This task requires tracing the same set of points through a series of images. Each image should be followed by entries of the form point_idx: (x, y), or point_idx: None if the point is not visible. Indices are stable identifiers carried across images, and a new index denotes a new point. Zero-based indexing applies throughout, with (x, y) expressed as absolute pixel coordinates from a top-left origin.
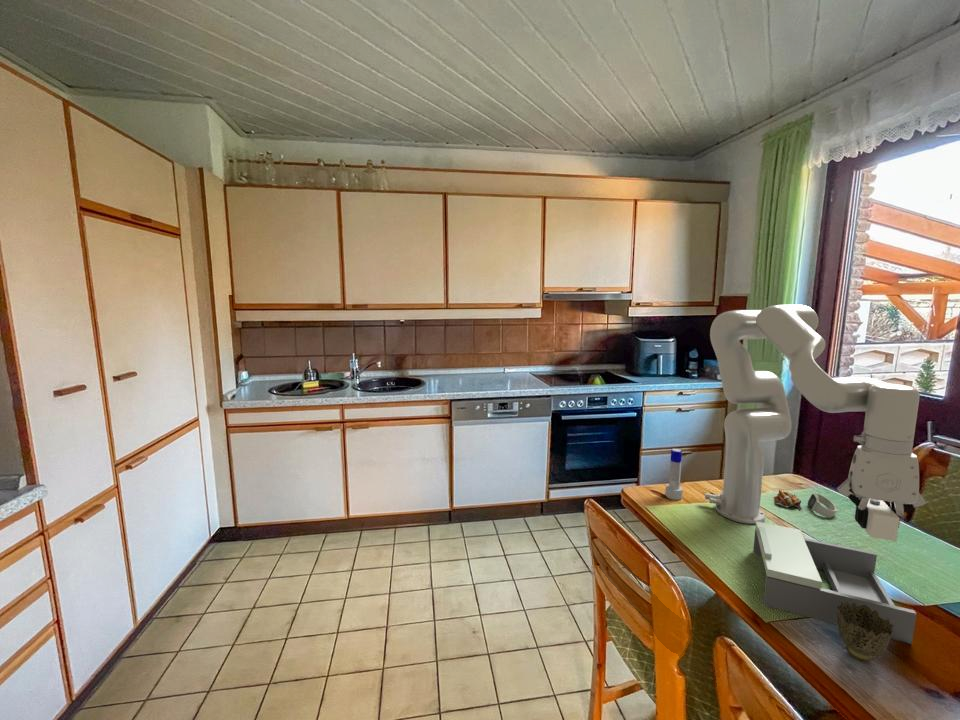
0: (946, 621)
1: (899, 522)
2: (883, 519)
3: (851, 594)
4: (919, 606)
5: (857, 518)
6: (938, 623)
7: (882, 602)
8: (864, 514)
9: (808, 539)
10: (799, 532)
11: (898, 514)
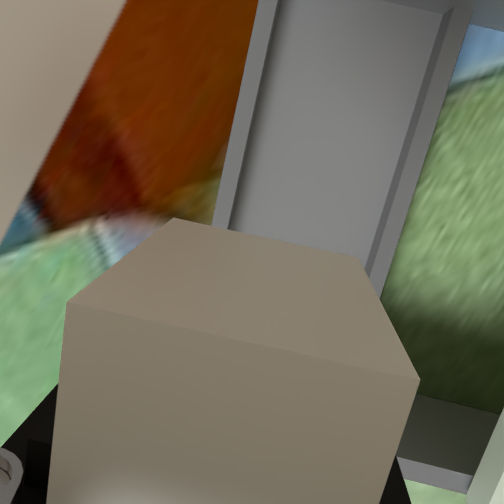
0: (68, 139)
1: (35, 410)
2: (278, 319)
3: (334, 219)
4: (112, 210)
5: (396, 471)
6: (102, 119)
7: (240, 193)
8: (388, 480)
9: (426, 479)
10: (500, 501)
11: (1, 472)
